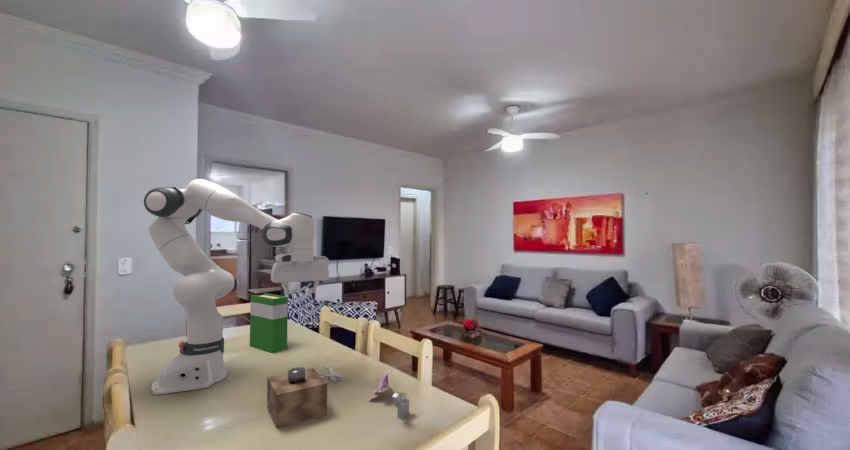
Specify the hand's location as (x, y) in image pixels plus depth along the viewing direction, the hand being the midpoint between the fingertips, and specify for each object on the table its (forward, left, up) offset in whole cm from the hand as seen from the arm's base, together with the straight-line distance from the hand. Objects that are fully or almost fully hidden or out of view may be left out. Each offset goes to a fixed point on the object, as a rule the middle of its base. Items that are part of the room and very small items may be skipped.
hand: (300, 293), depth 131 cm
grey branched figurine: (+9, -4, -32) cm, 33 cm away
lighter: (+17, -45, -31) cm, 57 cm away
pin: (-7, -24, -29) cm, 38 cm away
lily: (+19, -30, -31) cm, 47 cm away
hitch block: (-7, -24, -31) cm, 40 cm away
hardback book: (-3, +43, -31) cm, 53 cm away
